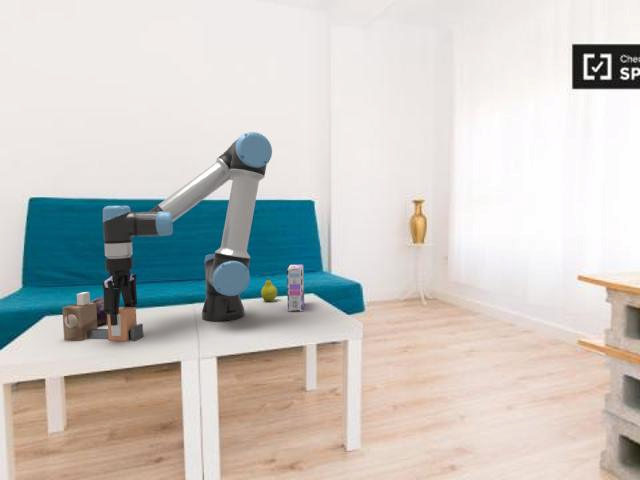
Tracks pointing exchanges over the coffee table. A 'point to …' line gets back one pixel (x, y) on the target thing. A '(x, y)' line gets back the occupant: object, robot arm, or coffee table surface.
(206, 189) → the robot arm
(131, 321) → the block
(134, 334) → the rail
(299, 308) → the candy box
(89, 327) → the cabinet
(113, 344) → the coffee table surface
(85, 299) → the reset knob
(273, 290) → the fruit
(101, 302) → the rock
